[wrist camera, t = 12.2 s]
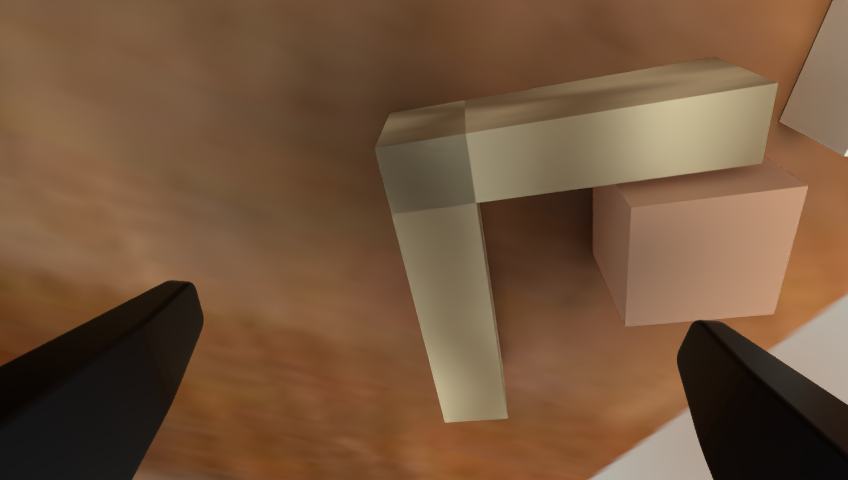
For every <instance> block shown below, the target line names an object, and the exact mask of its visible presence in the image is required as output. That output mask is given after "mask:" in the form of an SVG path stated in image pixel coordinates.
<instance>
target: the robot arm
mask: <svg viewBox="0 0 848 480" xmlns="http://www.w3.org/2000/svg"><path fill="white" fill-rule="evenodd" d="M203 321H204V319H203V312H202V309H201V305H200V301H199V298H198V294H197V291H196V288H195V286H194V284H193V283H191V282H188V281H175V280H170V281H166V282H164V283H162V284H160V285H158V286H156V287H154V288H152V289H150V290H148V291H147V292H145V293H143V294H141V295H139V296H137V297H135V298H133V299H131V300H129V301H127V302H125V303H123V304H121V305H119V306H117V307H115V308H113V309H111V310H109V311H107V312H105V313H103V314H101V315H100V316H98V317H96V318H94V319H92V320H90V321H88V322H86V323H84V324H82V325H80V326H78V327H76V328H74V329H72V330H70V331H68V332H66V333H64V334H62V335H60V336H58V337H56V338H55V339H53V340H51V341H49V342H47V343H45V344H43V345H41V346H39V347H37V348H35V349H33V350H31V351H29V352H27V353H25V354H23V355H21V356H19V357H17V358H15V359H13V360H11V361H9V362H8V363H6V364H4V365H2V366H0V480H132V479H133V477H134V475H135V473H136V471H137V469H138V467H139V465H140V464H141V462H142V460H143V458H144V456H145V454H146V452H147V450H148V448H149V447H150V445H151V443H152V441H153V439H154V437H155V435H156V433H157V431H158V430H159V428H160V426H161V424H162V422H163V420H164V418H165V416H166V414H167V412H168V410H169V408H170V406H171V404H172V402H173V400H174V398H175V395H176V393H177V391H178V388H179V386H180V383H181V381H182V378H183V376H184V373H185V371H186V368H187V366H188V363H189V361H190V358H191V356H192V353H193V351H194V348H195V345H196V343H197V340H198V338H199V335H200V333H201V330H202V327H203ZM677 365H678V369H679V373H680V376H681V380H682V383H683V387H684V391H685V394H686V398H687V401H688V405H689V409H690V412H691V416H692V419H693V423H694V427H695V430H696V434H697V437H698V439H699V443H700V446H701V448H702V452H703V454H704V457H705V460H706V462H707V465H708V467H709V470H710V472H711V475H712V477H713V479H714V480H848V405H847V404H846V403H844V402H842V401H841V400H839V399H838V398H836V397H835V396H833V395H832V394H830V393H829V392H827V391H826V390H824V389H823V388H821V387H820V386H818V385H817V384H815V383H814V382H812V381H811V380H809V379H808V378H806V377H805V376H803V375H801V374H800V373H798V372H797V371H795V370H794V369H792V368H791V367H789V366H788V365H786V364H785V363H783V362H782V361H780V360H779V359H777V358H776V357H774V356H773V355H771V354H770V353H768V352H767V351H765V350H764V349H762V348H761V347H759V346H758V345H756V344H755V343H753V342H751V341H750V340H748V339H747V338H745V337H744V336H742V335H741V334H739V333H738V332H736V331H735V330H733V329H732V328H730V327H729V326H727V325H726V324H724V323H722V322H720V321H711V320H696V321H694V322H693V323H692V324H691V326H690V328H689V330H688V332H687V334H686V336H685V338H684V340H683V343H682V345H681V347H680V349H679V351H678V355H677Z"/></svg>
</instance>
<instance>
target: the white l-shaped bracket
mask: <svg viewBox="0 0 848 480" xmlns="http://www.w3.org/2000/svg"><path fill="white" fill-rule="evenodd" d="M779 122H781V123H782V124H784V125H786V126H788V127H790V128H792V129H794V130H796V131H797V132H799V133H801V134H803V135H805V136H807V137H809V138H811V139H812V140H814V141H816V142H818V143H820V144H822V145H824V146H826V147H827V148H829V149H831V150H833V151H835V152H837V153H839V154H841V155H842V156H848V0H833V1H832V3H831V5H830V8H829V10H828V12H827V14H826V17H825V19H824V21H823V23H822V26H821V28H820V30H819V32H818V35H817V37H816V39H815V41H814V44H813V46H812V48H811V50H810V53H809V55H808V57H807V59H806V62H805V64H804V66H803V68H802V71H801V73H800V75H799V77H798V80H797V82H796V84H795V86H794V89H793V91H792V93H791V96H790V98H789V100H788V102H787V105H786V107H785V109H784V111H783V114H782V116H781V118H780V120H779Z"/></svg>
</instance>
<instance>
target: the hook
mask: <svg viewBox="0 0 848 480" xmlns="http://www.w3.org/2000/svg"><path fill="white" fill-rule="evenodd" d="M777 87H778V83H777V82H775V81H773V80H770V79H768V78H765V77H763V76H760V75H758V74H756V73H753V72H751V71H748V70H746V69H743V68H741V67H739V66H736V65H734V64H731V63H729V62H726V61H724V60H722V59H719V58H717V57H711V58H705V59H700V60H694V61H688V62H682V63H677V64H671V65H665V66H659V67H653V68H648V69H642V70H636V71H630V72H625V73H619V74H613V75H607V76H601V77H596V78H590V79H584V80H578V81H572V82H567V83H561V84H555V85H549V86H544V87H538V88H532V89H526V90H520V91H515V92H509V93H503V94H497V95H492V96H486V97H480V98H474V99H468V100H463V101H457V102H451V103H445V104H440V105H434V106H428V107H422V108H416V109H411V110H405V111H399V112H393V113H389V116H388V118H387V120H386V123H385V125H384V127H383V130H382V132H381V134H380V137H379V139H378V141H377V143H376V146H375V148H374V149H375V153H376V157H377V160H378V164H379V168H380V172H381V176H382V180H383V184H384V188H385V191H386V195H387V199H388V203H389V207H390V211H391V215H392V219H393V223H394V226H395V230H396V234H397V238H398V242H399V246H400V250H401V254H402V258H403V261H404V265H405V269H406V273H407V277H408V281H409V285H410V289H411V292H412V296H413V300H414V304H415V308H416V312H417V316H418V320H419V324H420V327H421V331H422V335H423V339H424V343H425V347H426V351H427V355H428V359H429V362H430V366H431V370H432V374H433V378H434V382H435V386H436V390H437V393H438V397H439V401H440V405H441V409H442V413H443V417H444V421H445V423H446V422H461V421H476V420H491V419H506V418H508V414H507V405H506V395H505V385H504V376H503V366H502V357H501V350H500V343H499V336H498V329H497V322H496V315H495V308H494V301H493V294H492V287H491V280H490V273H489V266H488V259H487V252H486V245H485V238H484V231H483V224H482V217H481V210H480V204H479V203H481V202H488V201H495V200H502V199H510V198H517V197H524V196H531V195H538V194H546V193H553V192H560V191H567V190H575V189H582V188H589V187H596V186H604V185H611V184H618V183H625V182H632V181H640V180H647V179H654V178H661V177H669V176H676V175H683V174H690V173H697V172H705V171H712V170H719V169H726V168H734V167H741V166H748V165H755V164H762V162H763V157H764V152H765V147H766V142H767V137H768V132H769V127H770V122H771V117H772V112H773V107H774V102H775V97H776V92H777Z"/></svg>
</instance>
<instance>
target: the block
mask: <svg viewBox="0 0 848 480" xmlns="http://www.w3.org/2000/svg"><path fill="white" fill-rule="evenodd" d="M807 189H808V185H806V184H805V183H803V182H802V181H800V180H799V179H797V178H796V177H794V176H793V175H792V174H790V173H789V172H787V171H786V170H784V169H783V168H781V167H780V166H778V165H777V164H775V163H774V162H772V161H771V160H769V159H768V158H766V157H765V156H764V157H763V162H762V164H755V165H748V166H741V167H734V168H726V169H719V170H712V171H705V172H697V173H690V174H683V175H676V176H669V177H661V178H654V179H647V180H640V181H632V182H625V183H618V184H611V185H604V186H596V187H593V255H594V257H595V259H596V262H597V264H598V266H599V269H600V271H601V273H602V275H603V278H604V280H605V282H606V285H607V287H608V289H609V292H610V294H611V296H612V298H613V301H614V303H615V305H616V308H617V310H618V312H619V314H620V317H621V319H622V321H623V324H624V326H625V327H630V326H642V325H653V324H665V323H676V322H688V321H696V320H711V319H723V318H734V317H746V316H757V315H769V314H774V312H775V309H776V305H777V301H778V298H779V294H780V290H781V286H782V283H783V279H784V275H785V271H786V268H787V264H788V260H789V256H790V253H791V249H792V245H793V241H794V238H795V234H796V230H797V227H798V223H799V219H800V215H801V212H802V208H803V204H804V200H805V197H806V193H807Z"/></svg>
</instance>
